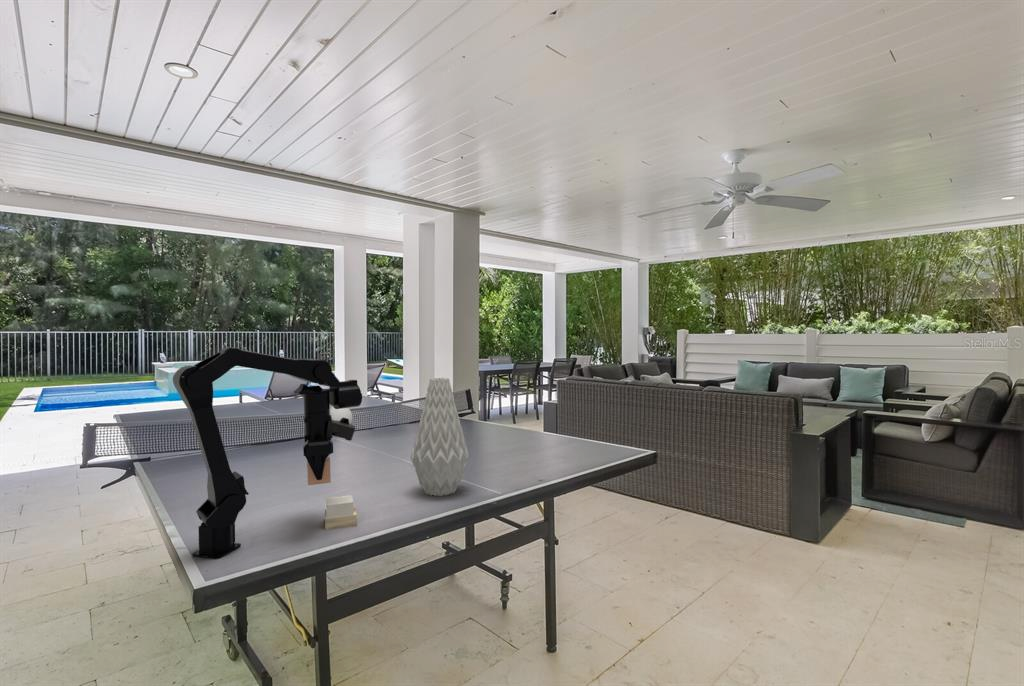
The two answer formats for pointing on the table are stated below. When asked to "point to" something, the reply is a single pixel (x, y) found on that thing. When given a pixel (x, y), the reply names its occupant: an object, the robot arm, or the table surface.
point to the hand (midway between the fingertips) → (319, 476)
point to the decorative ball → (341, 414)
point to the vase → (439, 441)
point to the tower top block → (339, 506)
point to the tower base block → (341, 521)
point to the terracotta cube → (325, 478)
